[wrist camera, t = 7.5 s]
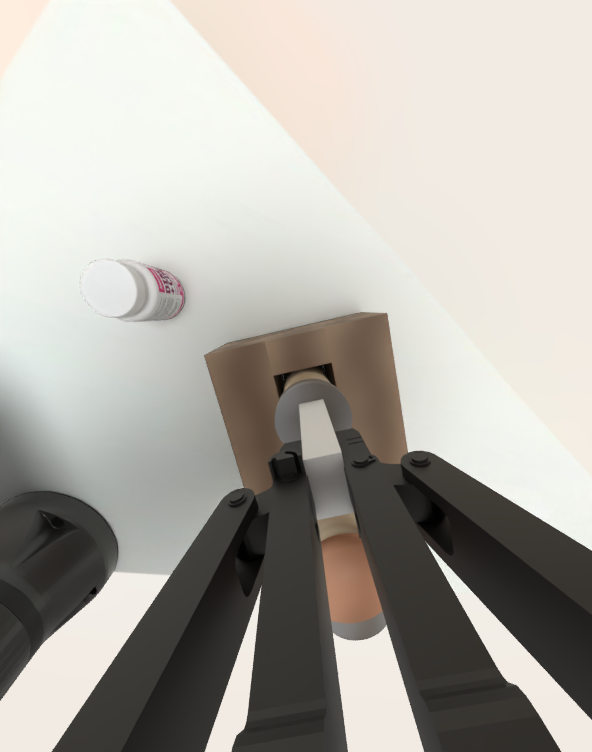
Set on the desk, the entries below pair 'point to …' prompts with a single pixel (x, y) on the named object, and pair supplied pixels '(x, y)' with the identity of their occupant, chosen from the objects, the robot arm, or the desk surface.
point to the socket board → (300, 351)
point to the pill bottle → (131, 290)
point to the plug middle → (347, 571)
